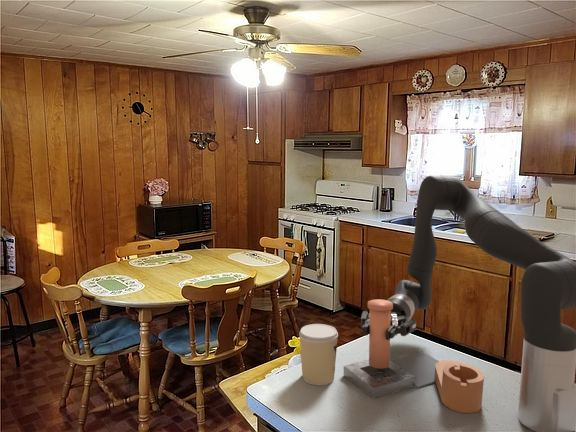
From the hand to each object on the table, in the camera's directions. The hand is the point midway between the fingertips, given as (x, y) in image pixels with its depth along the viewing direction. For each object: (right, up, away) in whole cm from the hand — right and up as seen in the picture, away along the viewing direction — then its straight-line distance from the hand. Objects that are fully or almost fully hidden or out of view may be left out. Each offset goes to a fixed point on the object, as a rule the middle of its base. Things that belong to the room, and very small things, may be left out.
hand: (376, 333), depth 105 cm
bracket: (+18, -13, -1) cm, 22 cm away
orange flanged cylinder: (+1, -8, +3) cm, 9 cm away
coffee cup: (-13, -12, +6) cm, 19 cm away
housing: (+1, -12, +4) cm, 13 cm away
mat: (+13, -12, +10) cm, 20 cm away
